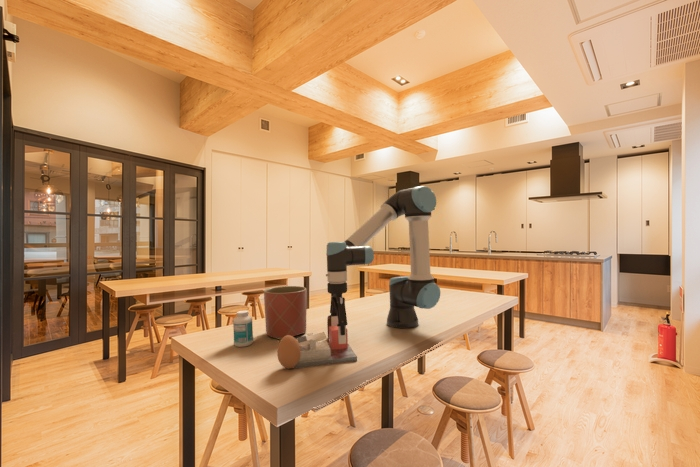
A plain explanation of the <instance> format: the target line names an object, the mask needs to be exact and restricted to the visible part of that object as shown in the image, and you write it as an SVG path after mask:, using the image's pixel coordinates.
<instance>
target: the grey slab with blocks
mask: <svg viewBox="0 0 700 467" xmlns="http://www.w3.org/2000/svg"><path fill="white" fill-rule="evenodd" d="M313 334H314V333H307V336H309V335H313ZM300 351H301V355H300V359H299V361H298V363H297V365H296V366H294V367H293V368H292V369H301V368H308V367H309V368H310V367H317V366H326V365H327V366H328V365H333V364H341V363H342V362H343V363H348V362H350V361H351V362H357V361H358V355H357V354H356V352H354V350H353V349H352V347H351V346H350V345H349V344H348V348H343V349H334V350H332V349H331V347H330V345H329V342H327V341H325V340H324V341H318V342H316V339H310V344H306V345H302V346H300ZM343 363H342V364H343Z"/></svg>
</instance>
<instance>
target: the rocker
mask: <svg viewBox="0 0 700 467" xmlns="http://www.w3.org/2000/svg"><path fill="white" fill-rule="evenodd" d="M310 339H316V342H322V341H325V340H327V339H328V337H327V335H326V333H325V332H324V331H322V332H317V333H313V335H309V336H308V335H303V336H300V337H297V338H296V340H297V342H298V344H299V346H302V345H306V344H310Z"/></svg>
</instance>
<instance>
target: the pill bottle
mask: <svg viewBox="0 0 700 467" xmlns="http://www.w3.org/2000/svg"><path fill="white" fill-rule="evenodd" d="M232 323H233V326H232V327H233V345H234V346H235V347H237V348H242V347H243V348H244V347H248V346H250V345H252V344H253V343H254V336H253V335H254V334H253V333H254V331H253V329H254V328H253V318H252V316H250V315H249V310H247V309H245V310H239V311H236V316H235V317H234V319H233V321H232Z"/></svg>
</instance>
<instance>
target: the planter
mask: <svg viewBox="0 0 700 467" xmlns="http://www.w3.org/2000/svg"><path fill="white" fill-rule="evenodd" d="M307 289H308V288H306V287H305V286H297V285H293V286H292V285H288V286H287V285H286V286H285V285H284V286H275V287H270V288H265V290H263V300H264V301H263V302H264V318H265V320H264V321H265V334H266V335H267V336H268V337H271V338H274V339H277V340H280V341H281V339H282V338H283V337H284V336H286V335H291V336H293V337H295V336H299V335H301V334H307V333H306V332H307V310H308V309H307V303H308V301H307V296H308V295H307V294H308V293H307Z"/></svg>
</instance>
